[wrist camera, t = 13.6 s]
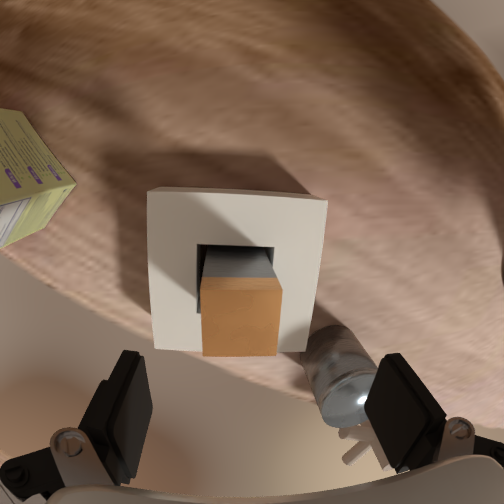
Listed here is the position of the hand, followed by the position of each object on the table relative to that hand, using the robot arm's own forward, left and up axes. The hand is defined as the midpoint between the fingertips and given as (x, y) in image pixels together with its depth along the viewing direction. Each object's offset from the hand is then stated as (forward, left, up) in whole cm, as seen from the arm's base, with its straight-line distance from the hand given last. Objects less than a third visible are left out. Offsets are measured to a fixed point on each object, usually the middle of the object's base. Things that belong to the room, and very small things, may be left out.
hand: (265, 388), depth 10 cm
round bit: (-9, +9, -15) cm, 20 cm away
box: (+20, -8, -15) cm, 26 cm away
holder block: (+1, 0, -15) cm, 15 cm away
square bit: (+1, 0, -15) cm, 15 cm away
